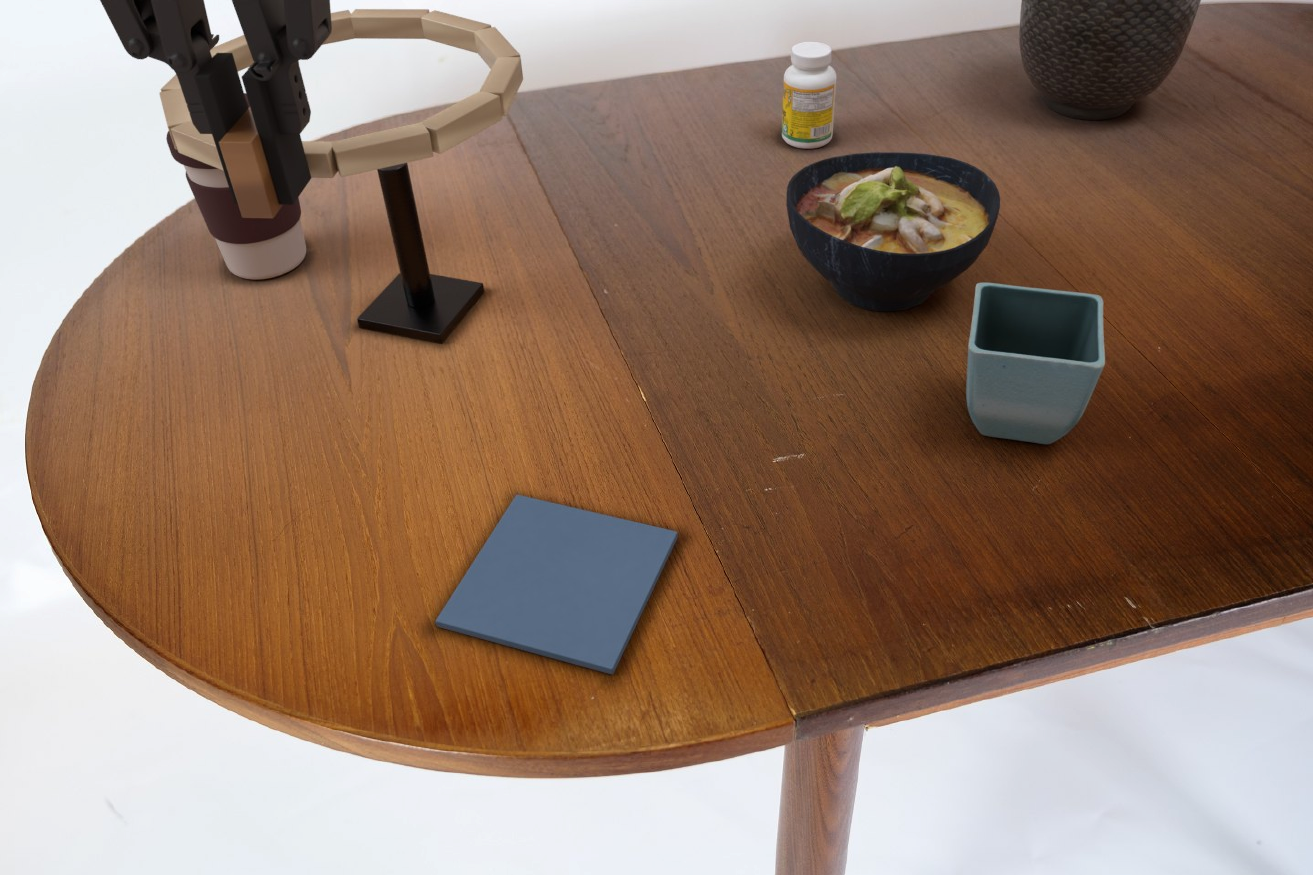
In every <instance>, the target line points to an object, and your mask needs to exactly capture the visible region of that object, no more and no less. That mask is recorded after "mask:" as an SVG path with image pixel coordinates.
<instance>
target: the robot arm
mask: <svg viewBox="0 0 1313 875" xmlns="http://www.w3.org/2000/svg"><path fill="white" fill-rule="evenodd" d="M99 1H100V3H101V5H102V7H103V9H104V11H105V13H106V15H107V17H108V19H109V21H110V23H111V25H112V27H113V29H114V30H115V33H116V35H117V37H118V38H119V40H120V43H121V44H122V46H123V48H124V50H125V51H126V53H127V54H128V55H129V56H130V57H132V58H133V59H136V60H145V59H147V58H151V59H154V60H156V61H159V62H162V63H164V64H166V65H168V66H169V67H170V69H171V70H173V71H174V73H175V75H177V77H178V80H179V83H180V86H181V89H182V92H183V95H184V98H185V101H186V103H187V108H188V111H189V112H190V113H189V114H190V117H191V120H192V123H193V125H194V126H195V128H196V129H197V130H198V132H199V133H200V134H212V136H213V139H214V142H215V145H216V148H217V151H218V155H219V158H220V161H221V164H222V167H223V170H224V173H225V177H226V180H227V183H228V186H229V189H230V192H231V195H232V199H233V202H234V204H238V202H237V199H236V196H235V193H234V189H233V186H232V183H231V180H230V177H229V173H228V170H227V167H226V164H225V161H224V158H223V154H222V151H221V148H220V145H219V141H220V140H221V139H222V138H223V137H224V136H225V134H226V133H228V131H229V130H230V129H231V128H232V127H233V126H234V125H235V123H236V122H237V121H238V120H239V119H240V118H241V116H242V115H243V114H244V113H245V112H246V111H247V110H248V105H247V102H246V98H245V95H244V93H246V94H247V98H248V101H249V105H250V108H251V112H252V115H253V118H254V122H255V125H256V129H257V132H258V134H259V137H260V141H261V144H262V147H263V151H264V154H265V158H266V161H267V165H268V168H269V172H270V175H271V179H272V182H273V185H274V189H275V192H276V196H277V199H278V203H279V204H283V205H293V204H294V203H295V201H296V200H297V198H298V197H300V196H301V194H302V193H303V191H304V190H305V189H306V187H307V186H308V184H309V183H310V181H311V179H312V178H311V174H310V170H309V167H308V163H307V159H306V155H305V152H304V148H303V144H302V141H303V140H302V136H301V134H302V132H304V130H305V129H306V127H307V126H308V124H309V123H310V121H311V115H312V110H311V106H310V102H309V99H308V94H307V92H306V86H305V82H304V79H303V75H302V71H301V66H300V62H299V61H308V60H310V59H312V58H313V56H315V54H316V53H317V52H318V50H319V49H320V48H321V47H322V46H323V45H322V44H323V43H324V42H325V41H326V39H327V38H328V37H329V35H330V34H331V31H332V24H331V13H332V12H331V0H231V2H232V6H233V8H234V11H235V13H236V17H237V19H238V23H239V25H240V28H241V30H242V34H243V35H244V36H245V39H246V42H247V44H248V47H249V50H250V53H251V55H252V58H253V61H254V63H253V64H252V65H251V66H250V67H248V68H247V70H246V71H245V72H244V73H243V74H242V75H241V78H240V73H239V71H237V67H236V64H235V61H234V57H233V54H232V53H216V54H215V55H214V56H213V58H212V56H211V52H210V50H211V49H212V48H213V47H215V46H217V44H219V41H220V34H216V35H214V34H213V33H212V31H211V27H210V23H209V18H208V13H207V9H206V5H205V0H99ZM241 80H242V81H241ZM244 91H245V92H244Z"/></svg>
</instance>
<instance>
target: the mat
mask: <svg viewBox="0 0 1313 875" xmlns="http://www.w3.org/2000/svg"><path fill="white" fill-rule="evenodd" d="M678 534H679V532H678V531H676V530H672V529H668V528H663V527H659V526H655V525H650V524H646V523H642V522H637V521H633V520H629V519H626V518H625V519H624V518H621V517H615V516H612V515H607V514H603V513H599V512H595V511H590V510H587V509H582V508H577V507H572V506H568V505H565V504H559V503H555V502H551V501H547V500H543V499H538V498H534V497H530V496H526V495H521V494H516V495H515V496H514V497H513V499H512V500H511V503H510V504H509V505H508V507H507V508H506V510H505V512H504V513H503V515H502V517H501V518H500V520H499V521H498V522H497V523H496V526H495V527H494V528H493V530H492V532H491V533H490V535H489V537H488V538H487V540H486V541H485V543H484V545H483V546H482V548H481V549H480V551H479V552H478V554H477V555H476V557H475V559H474V560H473V561H472V563H471V565H470V566H469V568H468V569H467V571H466V572H465V574H464V576H463V577H462V579H461V580H460V581H459V584H458V585H457V587H456V588H455V590H454V591H453V593H452V595H451V596H450V597H449V599H448V601H447V602H446V604H445V605H444V607H443V608H442V610H441V611H440V613H439V615H438V616H437V618H436V619H435V624H436V627H437V628H441V629H445V630H448V631H451V632H455V633H458V634H462V635H465V636H470V637H474V638H477V639H480V640H485V641H488V642H492V643H495V644H498V645H503V646H507V647H510V648H513V649H517V650H520V651H524V652H528V653H532V654H535V655H539V656H543V657H546V658H550V659H554V660H558V661H561V662H564V663H567V664H568V663H569V664H572V665H574V666H575V665H576V666H579V667H583V668H587V669H590V670H594V671H597V672H601V673H605V674H608V675H611V676H612V675H614V673H615V672H616V669H617V668H618V665H619V663H620V661H621V659H622V657H623V654H624V652H625V650H626V648H627V646H628V644H629V642H630V640H631V638H632V635H633V633H634V631H635V629H636V627H637V624H638V622H639V621H640V619H641V616H642V614H643V612H644V610H645V608H646V605H647V603H648V601H649V599H650V597H651V595H652V593H653V591H654V589H655V587H656V584H657V582H658V580H659V578H660V576H661V573H662V572H663V570H664V568H665V565H666V563H667V562H668V560H669V557H670V555H671V552H672V551H673V548H674V546H675V545H676V542H677V541H678V537H679V535H678Z"/></svg>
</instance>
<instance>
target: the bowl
mask: <svg viewBox="0 0 1313 875" xmlns="http://www.w3.org/2000/svg"><path fill="white" fill-rule="evenodd" d="M1000 195H1001V194H1000V192H999V188H998V186H997V184H996V183H995V182H994V181H993V179H992V178H991V177H989V176H988V175H987V173H985V171H983V170H981V169H980V168H978V167H976V166H975V165H973V164H970V163H968V162H965V161H962V160H959V159H957V158H956V159H955V158H953V157H948V156H941V155H935V154H929V153H917V152H902V151H901V152H900V151H899V152H896V151H895V152H890V151H889V152H883V151H882V152H878V151H877V152H875V151H874V152H859V153H858V152H857V153H850V154H844V155H838V156H833V157H829V158H823V159H821V160H819V161H816V162H813V163H811V164H808V165H806V166H804V167H803V168H801V169H800V170H798V171H797V172H796V173H795V174H793V176H791V179H790V180H789V181H788V183H787V186H786V200H785V201H786V203H785V204H786V212H787V218H788V223H789V230H790V231H791V234H792V236H793V238H794V241H795V243H796V245H797V247H798V249H799V251H800V252H801V254H802V256H803V258H805V259H806V260H807V262H808V263H809V264H810V265H811V266H812V268H814V270H816V271H817V272H818V273H819V275H821V277H822V278H824V279H825V280H826V281H828V282H829V283H831V285H832V287H833V289H834V290H835V292H836V294H838V295H839V297H841V298H842V299H843V300H844V301H845V302H847V303H849V304H851V305H853V306H855V307H858V308H861V309H864V310H868V311H869V310H870V311H874V312H898V311H905V310H908V309H911V308H916V307H917V306H919V305H920V304H922V303H924V302H925V301H926V300H927V299H928V298H929V297H930V296H931V295H932V293H934V292H935V291H937V290H939V289H940V288H943V287H944V286H946V285H948V284H949V283H951V282H953V281H954V280H955V279H956V278H957V277H959V276H960V275H961V274H963V273H964V272H965V271H967V270H968V269H969V268H970V267H971V266H972V265H973V264H974V263H975V262H976V261H977V259H978V258H979V257H980V256H981V254H982V253H983V252H984V250H985V249H986V248H987V246H988V244H989V242H990V240H991V237H992V235H993V232H994V230H995V227H996V223H997V220H998V218H999V214H1000V209H1001V196H1000Z"/></svg>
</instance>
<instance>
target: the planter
mask: <svg viewBox="0 0 1313 875" xmlns="http://www.w3.org/2000/svg"><path fill="white" fill-rule="evenodd" d="M1201 2H1202V0H1021V3H1020V12H1019V13H1020V14H1019V32H1018V37H1019V40H1018V42H1019V44H1018V45H1019V52H1020V58H1021V63H1022V67H1023V70H1024V73H1025V74H1026V76H1027V78H1028V79H1029V81H1030V82H1031V84H1032V85H1033V87H1035V88H1036V90H1037V91H1038V92H1040V93H1041V97H1042V100H1043V102H1044V103H1045V105H1046V106H1047V107H1048V108H1049V109H1051V110H1052V112H1055V113H1056V114H1059V115H1062V116H1065V117H1069V118H1073V119H1078V120H1087V121H1101V120H1110V119H1114V118H1118V117H1120V116H1122V115H1124V114H1125V113H1127V112H1128V111H1129V110H1130V109H1131V108H1132V106H1133V105H1134V104H1135V103H1138V102H1140V101H1142V100H1143V99H1145V98H1146V97H1148V96H1149V95H1150V94H1152V93H1153V92H1154V91H1156V90H1157V89H1158V88H1159V87H1160V86H1161V85H1162V84H1163V83H1164V81H1166V79H1167V78H1168V77H1169V75H1170V74H1171V72H1172V71H1173V70H1174V68H1175V67H1176V64H1177V63H1178V60H1179V58H1180V57H1181V54H1182V53H1183V50H1184V47H1185V45H1186V42H1187V40H1188V38H1189V36H1190V32H1191V30H1192V27H1193V24H1194V22H1195V19H1196V16H1197V13H1198V10H1199V7H1200V4H1201Z"/></svg>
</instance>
